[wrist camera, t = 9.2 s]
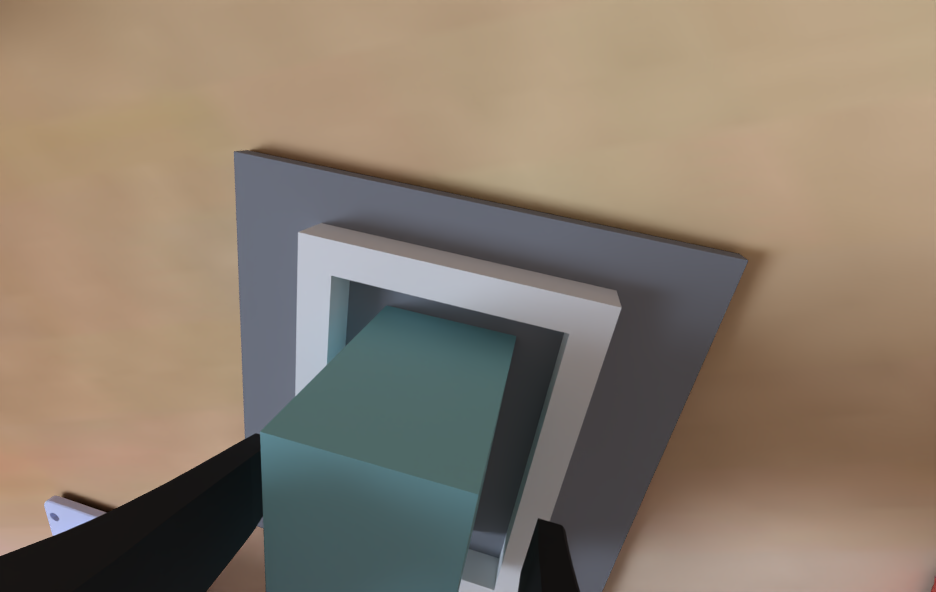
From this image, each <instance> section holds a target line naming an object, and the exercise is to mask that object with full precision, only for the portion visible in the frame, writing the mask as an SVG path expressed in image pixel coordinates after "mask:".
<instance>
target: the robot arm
mask: <svg viewBox="0 0 936 592" xmlns="http://www.w3.org/2000/svg"><path fill="white" fill-rule="evenodd" d="M44 506H45V510H46V514H47V517H48V521H49V524H50V528H51V531H52V534H53V536H52V537H49V538H47V539H44V540H42V541H39V542H36V543H34V544H31V545H28V546H26V547H23V548H21V549H18V550H15V551H13V552H10V553H8V554H5V555H2V556H0V592H206V591H207V590H208V588H209V587H210V586H211V585H212V583H213V582H214V581H215V580H216V578H217V577H218V576H219V575H220V573H221V572H222V571H223V570H224V568H225V567H226V566H227V564H228V563H229V562H230V561H231V559H232V558H233V557H234V556H235V554H236V553H237V552H238V550H239V549H240V548H241V547H242V545H243V544H244V543H245V542H246V540H247V539H248V538H249V536H250V535H251V534H252V532H253V531H254V529H255V528H256V526H257V525H258V523H259V522H260V520H261V519H262V517H263V499H262V472H261V445H260V434H257V433H255V434H253V435H251V436H250V437H248V438H246V439H244V440H242V441H241V442H239V443H237V444H235V445H234V446H232V447H230V448H228V449H226V450H225V451H223V452H221V453H219V454H218V455H216V456H214V457H212V458H211V459H209V460H207V461H205V462H204V463H202V464H200V465H198V466H196V467H195V468H193V469H191V470H189V471H187V472H186V473H184V474H182V475H180V476H178V477H176V478H175V479H173V480H171V481H169V482H167V483H165V484H164V485H162V486H160V487H158V488H156V489H154V490H152V491H150V492H148V493H146V494H144V495H142V496H140V497H138V498H136V499H134V500H132V501H130V502H128V503H126V504H124V505H122V506H120V507H118V508H116V509H114V510H112V511H110V512H104V511H101V510H98V509H95V508H92V507H89V506H86V505H83V504H80V503H78V502H75V501H72V500H69V499H66V498H63V497H60V496H52V497H51V498H50V499H48V500H47V501H46V502H45V504H44ZM518 592H580V589H579V586H578V582H577V578H576V575H575V571H574V567H573V563H572V559H571V555H570V551H569V546H568V541H567V536H566V530H565V529H564V527H563V526H562V525H560V524H556V523H553V522H550V521H546V520H543V519H540V518H538V520H537V523H536V526H535V529H534V532H533V535H532V538H531V542H530V545H529V548H528V551H527V554H526V557H525V560H524V563H523V566H522V569H521V573H520V580H519V587H518Z"/></svg>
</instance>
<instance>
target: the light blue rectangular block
mask: <svg viewBox="0 0 936 592" xmlns="http://www.w3.org/2000/svg"><path fill="white" fill-rule="evenodd" d="M515 341H516V336H514V335H509V334H505V333H501V332H497V331H493V330H488V329H484V328H480V327H476V326H471V325H467V324H463V323H459V322H454V321H450V320H446V319H442V318H438V317H433V316H429V315H425V314H421V313H416V312H412V311H408V310H404V309H400V308H395V307H391V306H387V305H386V306H385V307H384V308H383V309H382V310H381V311H380V312H379V313H378V314H377V315H376V316H375V317H374V318H373V319H372V320H371V321H370V322H369V323H368V324H367V325H366V326H365V327H364V328H363V329H362V330H361V331H360V332H359V333H358V334H357V335H356V336H355V337H354V338H353V339H352V340H351V341H350V342H349V343H348V344H347V345H346V346H345V347H344V348H343V349H342V350H341V351H340V352H339V353H338V354H337V355H336V356H335V357H334V358H333V359H332V360H331V361H330V362H329V363H328V364H327V365H326V366H325V367H324V368H323V369H322V370H321V371H320V372H319V373H318V374H317V375H316V376H315V377H314V378H313V379H312V380H311V381H310V382H309V383H308V384H307V385H306V386H305V387H304V388H303V389H302V390H301V391H300V392H299V393H298V394H297V395H296V396H295V397H294V398H293V399H292V400H291V401H290V402H289V403H288V404H287V405H286V406H285V407H284V408H283V409H282V410H281V411H280V412H279V413H278V414H277V415H276V416H275V417H274V418H273V419H272V420H271V421H270V422H269V423H268V424H267V425H266V426H265V427H264V428H263V429H262V430H261V431H260V445H261V472H262V499H263V527H264V554H265V581H266V592H459V588H460V583H461V579H462V575H463V571H464V566H465V562H466V558H467V553H468V549H469V545H470V541H471V536H472V532H473V528H474V523H475V519H476V514H477V510H478V505H479V501H480V496H481V492H482V488H483V483H484V479H485V474H486V470H487V465H488V461H489V456H490V452H491V448H492V443H493V439H494V434H495V430H496V425H497V421H498V416H499V412H500V408H501V403H502V399H503V394H504V390H505V385H506V381H507V376H508V372H509V368H510V363H511V359H512V354H513V350H514V345H515Z"/></svg>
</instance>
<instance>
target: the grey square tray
mask: <svg viewBox="0 0 936 592" xmlns="http://www.w3.org/2000/svg"><path fill="white" fill-rule="evenodd" d="M234 166H235V192H236V218H237V244H238V270H239V295H240V321H241V347H242V373H243V399H244V424H245V439H246V438H248V437H250V436H251V435H253V434H255V433H257V434H260V431H261V430H262V429H263V428H264V427H265V426H266V425H267V424H268V423H269V422H270V421H271V420H272V419H273V418H274V417H275V416H276V415H277V414H278V413H279V412H280V411H281V410H282V409H283V408H284V407H285V406H286V405H287V404H288V403H289V402H290V401H291V400H292V399H293V398H294V397H295V396H296V395H297V394H298V393H299V392H300V391H301V390H302V389H303V388H304V387H305V386H306V385H307V384H308V383H309V382H310V381H311V380H312V379H313V378H314V377H315V376H316V375H317V374H318V373H319V372H320V371H321V370H322V369H323V368H324V367H325V366H326V365H327V364H328V363H329V362H330V361H331V360H332V359H333V358H334V357H335V356H336V355H337V354H338V353H339V352H340V351H341V350H342V349H343V348H344V347H345V346H346V345H347V344H348V343H349V342H350V341H351V340H352V339H353V338H354V337H355V336H356V335H357V334H358V333H359V332H360V331H361V330H362V329H363V328H364V327H365V326H366V325H367V324H368V323H369V322H370V321H371V320H372V319H373V318H374V317H375V316H376V315H377V314H378V313H379V312H380V311H381V310H382V309H383V308H384V307H385V306H386V305H387V306H391V307H395V308H400V309H404V310H408V311H412V312H416V313H421V314H425V315H429V316H433V317H438V318H442V319H446V320H450V321H454V322H459V323H463V324H467V325H471V326H476V327H480V328H484V329H488V330H493V331H497V332H501V333H505V334H509V335H514V336H516V341H515V345H514V350H513V354H512V359H511V363H510V368H509V372H508V376H507V381H506V385H505V390H504V394H503V399H502V403H501V408H500V412H499V416H498V421H497V425H496V430H495V434H494V439H493V443H492V448H491V452H490V456H489V461H488V465H487V470H486V474H485V479H484V483H483V488H482V492H481V496H480V501H479V505H478V510H477V514H476V519H475V523H474V528H473V532H472V536H471V541H470V545H469V549H468V553H467V558H466V562H465V566H464V571H463V575H462V579H461V583H460V588H459V592H518V587H519V580H520V573H521V569H522V566H523V563H524V560H525V557H526V554H527V551H528V548H529V545H530V542H531V538H532V535H533V532H534V529H535V526H536V523H537V520H538V518H540V519H543V520H546V521H550V522H553V523H556V524H560V525H562V526H563V527H564V529H565V530H566V536H567V541H568V546H569V551H570V555H571V559H572V563H573V567H574V571H575V575H576V578H577V582H578V586H579V589H580V592H602V591H603V588H604V586H605V584H606V582H607V579H608V577H609V575H610V572H611V570H612V568H613V566H614V563H615V561H616V559H617V557H618V554H619V552H620V550H621V548H622V545H623V543H624V541H625V539H626V536H627V534H628V532H629V529H630V527H631V525H632V523H633V520H634V518H635V516H636V514H637V511H638V509H639V507H640V505H641V502H642V500H643V498H644V496H645V493H646V491H647V489H648V486H649V484H650V482H651V480H652V477H653V475H654V473H655V471H656V468H657V466H658V464H659V462H660V459H661V457H662V455H663V453H664V450H665V448H666V446H667V443H668V441H669V439H670V437H671V434H672V432H673V430H674V428H675V425H676V423H677V421H678V419H679V416H680V414H681V412H682V410H683V407H684V405H685V403H686V400H687V398H688V396H689V394H690V391H691V389H692V387H693V385H694V382H695V380H696V378H697V376H698V373H699V371H700V369H701V366H702V364H703V362H704V360H705V357H706V355H707V353H708V351H709V348H710V346H711V344H712V342H713V339H714V337H715V335H716V333H717V330H718V328H719V326H720V323H721V321H722V319H723V317H724V314H725V312H726V310H727V308H728V305H729V303H730V301H731V299H732V296H733V294H734V292H735V290H736V287H737V285H738V283H739V280H740V278H741V276H742V274H743V271H744V269H745V267H746V265H747V262H748V260H747V259H746V258H744V257H743V256H742V255H740V254H737V253H733V252H728V251H723V250H718V249H714V248H709V247H704V246H699V245H695V244H690V243H685V242H680V241H676V240H671V239H666V238H661V237H657V236H652V235H647V234H642V233H638V232H633V231H628V230H623V229H619V228H614V227H609V226H604V225H600V224H595V223H590V222H585V221H581V220H576V219H571V218H567V217H562V216H557V215H552V214H548V213H543V212H538V211H533V210H529V209H524V208H519V207H514V206H510V205H505V204H500V203H495V202H491V201H486V200H481V199H476V198H472V197H467V196H462V195H457V194H453V193H448V192H443V191H438V190H434V189H429V188H424V187H419V186H415V185H410V184H405V183H400V182H396V181H391V180H386V179H382V178H377V177H372V176H367V175H363V174H358V173H353V172H348V171H344V170H339V169H334V168H329V167H325V166H320V165H315V164H310V163H306V162H301V161H296V160H291V159H287V158H282V157H277V156H272V155H268V154H263V153H258V152H253V151H249V150H246V151H234ZM257 526H258V527H261V528H264V527H263V517H262V519H261V520H260V522H259V523H258V525H257Z"/></svg>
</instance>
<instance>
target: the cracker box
mask: <svg viewBox="0 0 936 592" xmlns="http://www.w3.org/2000/svg"><path fill="white" fill-rule="evenodd" d="M931 592H936V576H935V582H934V585H933V587H932V590H931Z"/></svg>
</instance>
